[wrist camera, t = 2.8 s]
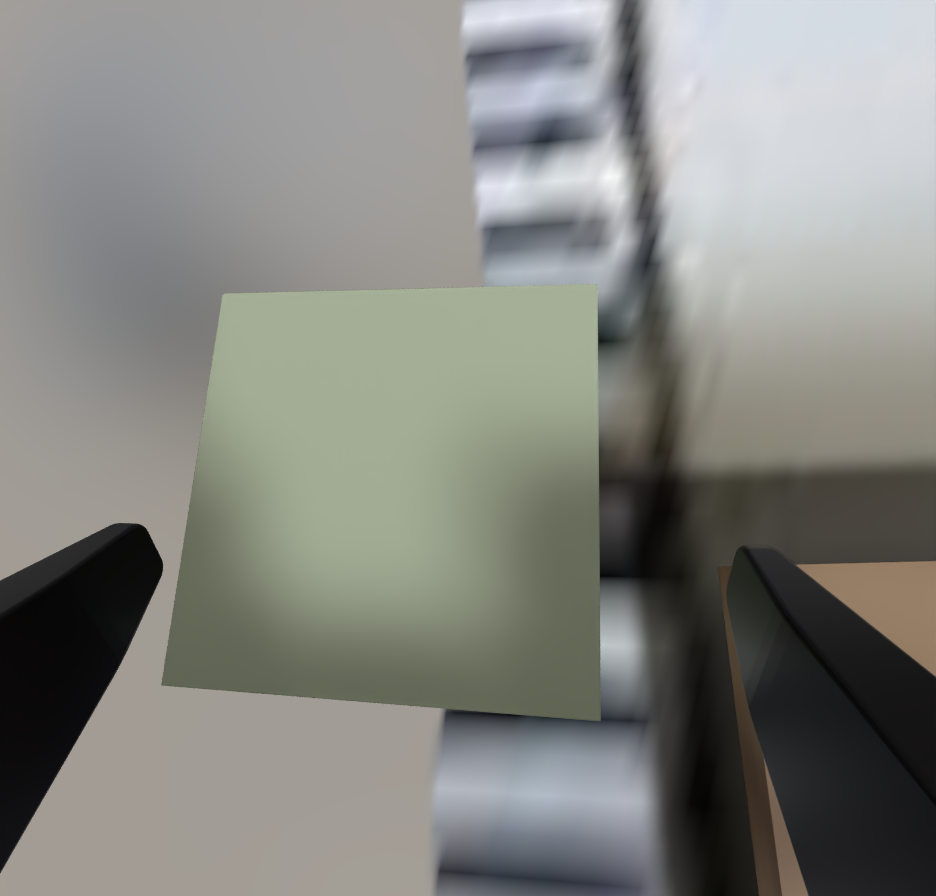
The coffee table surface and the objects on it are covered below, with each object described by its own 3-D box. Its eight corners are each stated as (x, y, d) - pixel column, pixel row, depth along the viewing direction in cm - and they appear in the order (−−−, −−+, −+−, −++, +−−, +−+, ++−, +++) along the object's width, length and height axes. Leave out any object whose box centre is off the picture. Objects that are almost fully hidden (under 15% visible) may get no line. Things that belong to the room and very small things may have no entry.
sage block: (559, 620, 16) (600, 720, 5) (408, 611, 16) (161, 685, 6) (561, 467, 17) (597, 284, 6) (417, 464, 17) (222, 294, 7)
